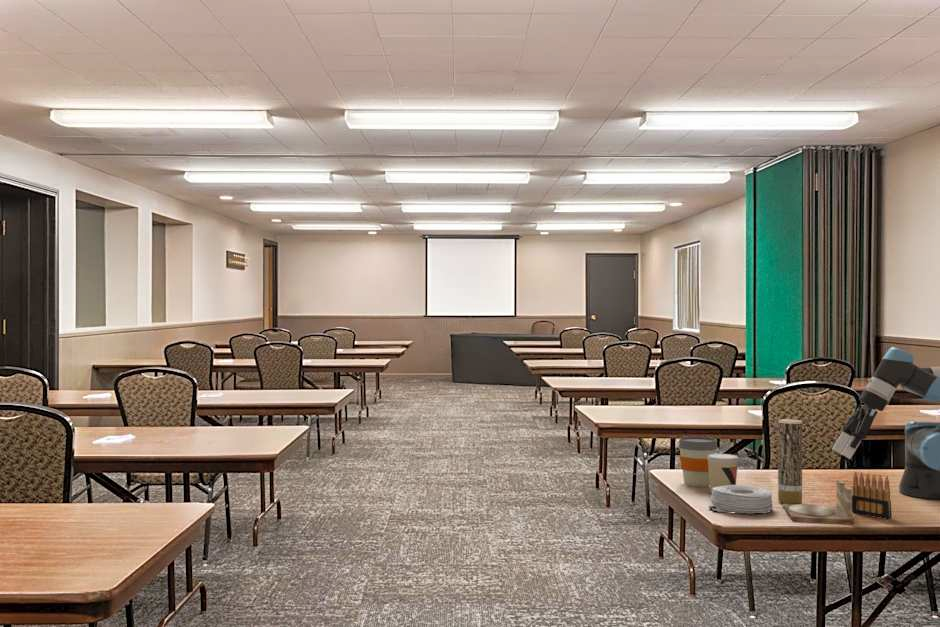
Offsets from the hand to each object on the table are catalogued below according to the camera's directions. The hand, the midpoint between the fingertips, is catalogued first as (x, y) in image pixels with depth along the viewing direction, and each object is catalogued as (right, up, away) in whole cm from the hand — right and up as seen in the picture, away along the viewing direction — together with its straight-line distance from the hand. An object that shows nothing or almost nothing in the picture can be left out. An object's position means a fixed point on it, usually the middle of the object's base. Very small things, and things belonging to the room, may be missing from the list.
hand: (840, 454), depth 255 cm
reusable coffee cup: (-37, -14, +24) cm, 47 cm away
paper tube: (-17, -14, -4) cm, 23 cm away
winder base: (-16, -14, -20) cm, 29 cm away
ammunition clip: (0, -14, -20) cm, 24 cm away
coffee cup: (-34, -14, +9) cm, 38 cm away
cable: (-34, -15, -11) cm, 39 cm away
